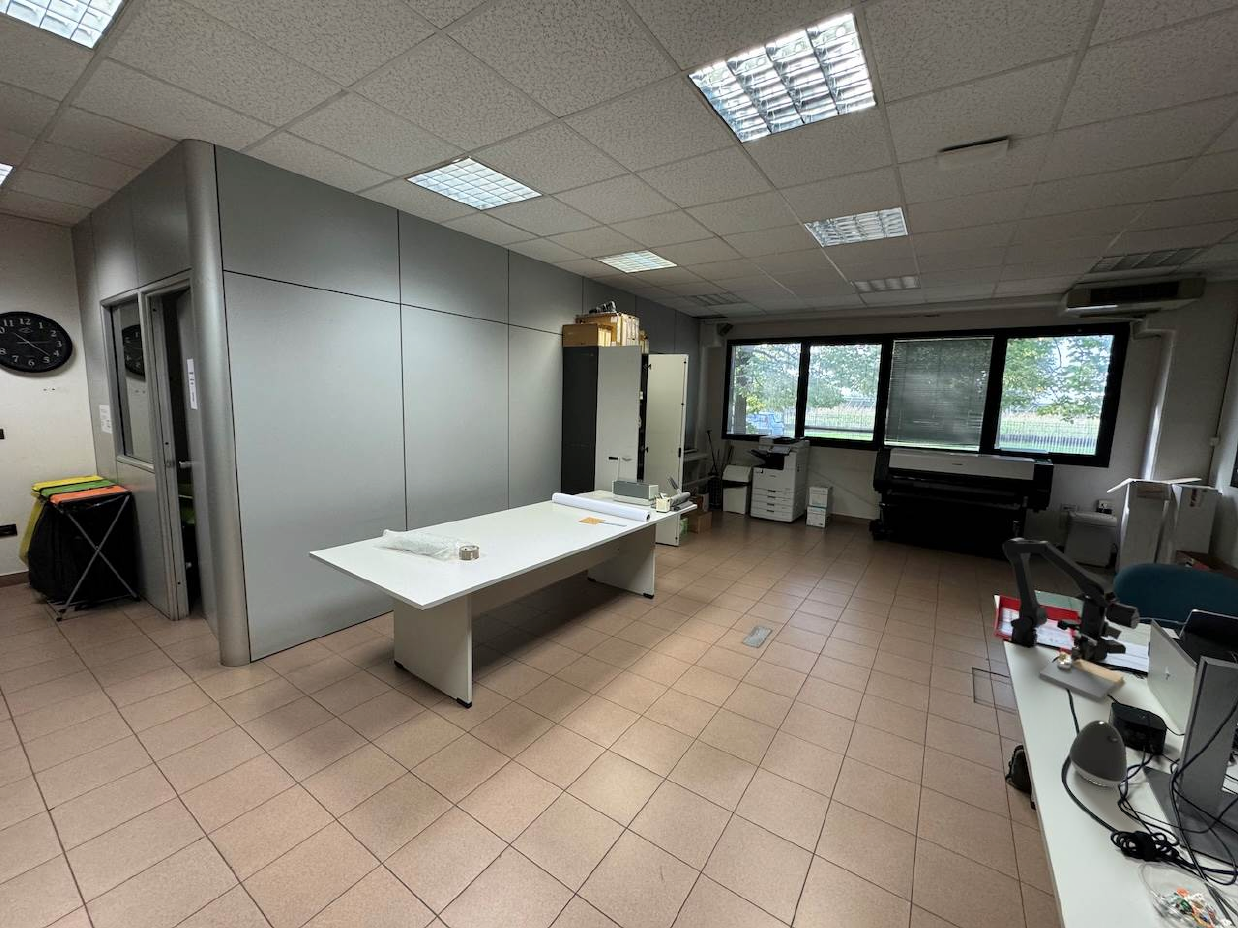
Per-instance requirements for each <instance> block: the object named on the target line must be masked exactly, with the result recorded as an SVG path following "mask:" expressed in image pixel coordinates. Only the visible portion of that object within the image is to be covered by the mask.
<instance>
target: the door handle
mask: <svg viewBox="0 0 1238 928" xmlns="http://www.w3.org/2000/svg"><path fill="white" fill-rule="evenodd" d="M1069 655H1070V656H1071V657H1069V658H1067V659H1065V660H1064V661H1057V667H1059V668H1061V669H1064V670H1069V669H1070V666H1072V665H1073V664H1075V663H1077V662H1078V661H1080V659H1081V657H1082V653H1081V651H1080V649H1079V648H1077V647H1073V646H1072V647H1071V650H1070V654H1069Z"/></svg>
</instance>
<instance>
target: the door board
mask: <svg viewBox="0 0 1238 928" xmlns="http://www.w3.org/2000/svg"><path fill="white" fill-rule="evenodd" d="M1069 657H1071V656H1070V654H1068V653H1067V652H1064V651H1061V652H1060V653H1059V657H1058V658H1056V659H1055V660H1054V661H1053V662H1051V663H1050V664H1049V665H1048V666H1045V668H1044V669H1042V670H1041V671H1039V674H1038V678H1041V679H1043V680H1045V681H1047V682H1050V683H1053V684H1055V685H1057V686H1060V687H1062V688H1064V689H1066V690H1069V691H1071V692H1074V693H1077V694H1079V695H1080V696H1081V695H1082V696H1084V697H1086V698H1088V699H1091V700H1093V701H1095V702H1098V703H1101V702H1102V701H1103V700H1104V699H1105V698H1106V697H1107V695H1109V694H1110V693H1111V692H1112V691H1113V690H1114V689H1115V688H1116V687H1117V686H1118V685H1119V684H1120V683H1121V682H1122V681H1123V680H1124V677H1125V676H1124V674H1122V673H1119V672H1116V671H1113V670H1111V669H1108V668H1105V667H1103V666H1101V665H1097V664H1095V663H1093V662H1091V661H1087V660H1082V659H1080V661H1078V662H1077V663H1075V664H1073V665H1072V666H1070V669H1069V670H1064V669H1061V668H1059V667H1057V661H1064V660H1065V659H1067V658H1069Z"/></svg>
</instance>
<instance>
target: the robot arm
mask: <svg viewBox="0 0 1238 928" xmlns="http://www.w3.org/2000/svg"><path fill="white" fill-rule="evenodd" d="M1002 549H1003V551H1004V554H1005V557H1007V560H1009V562H1010V563H1011V565H1012V569H1013V573H1014V577H1015V582H1016V586H1017V592H1018V595H1019V596H1018V597H1019V601H1020V603H1019V608H1018V618H1015V619H1012V620H1010V621H1009V622H1010V626H1011V635H1010V636H1011V637H1010V638H1009V639H1008V642H1011V643H1014V644H1016V645H1017V646H1018V645H1019V646H1021V647H1023V648H1026V649H1031V648H1033V647H1034V646H1036V645H1037V643H1038V636H1039V635H1038V633H1037V632H1038V631H1037V629H1039V628H1040V626H1043V625H1045V624H1047V622H1048V618H1050V617H1049V615H1048V612H1047V606H1044V605H1043V606H1042V605H1041V604H1040V602H1038V599H1037V596H1036V590H1035V587H1034V582H1033V578H1032V574H1031V573H1032V572H1031V569H1030V564H1029V561H1030V557H1031V554H1040V555H1041V556H1042V557H1044V558H1045V559H1046V560H1048V562H1050V563H1051V564H1052V565H1054V566H1055V567H1057V568H1058V569H1059V570H1060V571H1062V572H1063V573H1064V574H1065V575H1067V576H1068V577H1069V578H1071V579H1072V580H1073V582H1074V584H1075V585H1076V587H1077V588H1078V589H1079V590H1080V591H1081V592H1082V593H1081V594H1079V595H1076V596H1075V597H1074V599H1076V600H1079V601H1082V606H1081V612H1080V614H1081V615H1077V616H1076V619H1078V620H1079V622H1078V621H1077V620H1075V619H1060V620H1058V621H1057V622H1056V623H1057V625H1056V627H1057V629H1060V630H1062V631H1066V630H1068V629H1070V630H1072V631H1073V632H1074V634H1073V635H1071V638H1072V639H1074V640H1075V641H1076V643H1077V645H1078V647H1079V649H1080V651H1081V653H1082V656H1083V658H1084V659H1085V660H1084V661H1087V660H1088V659H1089V658H1090V657H1091V655H1092V654H1093V653H1094V652H1095V651H1096V650H1097V649H1100V650H1102V651H1104V652H1106V653H1107V654H1109V655H1112V654H1113V655H1114V654H1115V655H1116V654H1117V655H1126V651H1127V647H1126V646H1125V645H1124V643H1121V642H1119V641H1118V639H1119V637H1120V635H1121V633H1122V632H1123V631H1122V630H1120V629H1118V628H1115V627H1114V626H1111V625H1110V624H1109V622H1110V623H1112V624H1116V625H1118V626H1121V627H1125V628H1128V629H1131V630H1136V629H1137V627H1138V626H1139V624H1140V621H1141V616H1140V613H1139V611H1138V610H1139V608H1138V607H1136V606H1131V605H1127V604H1123V603H1120V599H1119V597H1118V596H1117V595H1116V592H1114V591H1113V585H1112V584H1111V582H1110V581H1109V580H1107V579H1105V578H1103V577H1101V576H1100V575H1098V574H1096V573H1094V572H1092V571H1091V572H1090V571H1088V570H1087V569H1085V568H1083V567H1082V566H1081V565H1079V564H1078V563H1077V562H1075V561H1074V560H1072V559H1071V558H1070V557H1069V556H1067V554H1065V553H1064V552H1062V551H1060V550H1059V549H1058V548H1056V547H1055V546H1054V545H1053V543H1051V542H1050V541H1047V540H1042V541H1041V540H1040V541H1039V540H1033V539H1032V540H1031V539H1030V540H1028V539H1025V538H1023V537H1016V538H1010V539H1007V540H1005V541H1004V542H1003V543H1002ZM1105 597H1106V598H1105ZM1106 620H1108V621H1106ZM1109 637H1111V638H1113V639H1106V638H1109Z"/></svg>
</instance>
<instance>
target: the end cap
mask: <svg viewBox="0 0 1238 928" xmlns="http://www.w3.org/2000/svg"><path fill="white" fill-rule="evenodd" d="M1073 646H1075V647H1078V645H1077V643H1076V641H1075V639H1074V640H1073ZM1107 658H1108V653H1106V652H1104V651H1102V650H1100V649H1097V650H1096V651H1095V652H1094V653H1093V654H1092V655H1091V657H1090V658H1089V659H1088V660H1085V659H1084V658H1083V656H1082V657H1081V659H1082V660H1084V661H1087V662H1090V663H1099V662H1102V661H1104V660H1106V659H1107Z"/></svg>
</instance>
